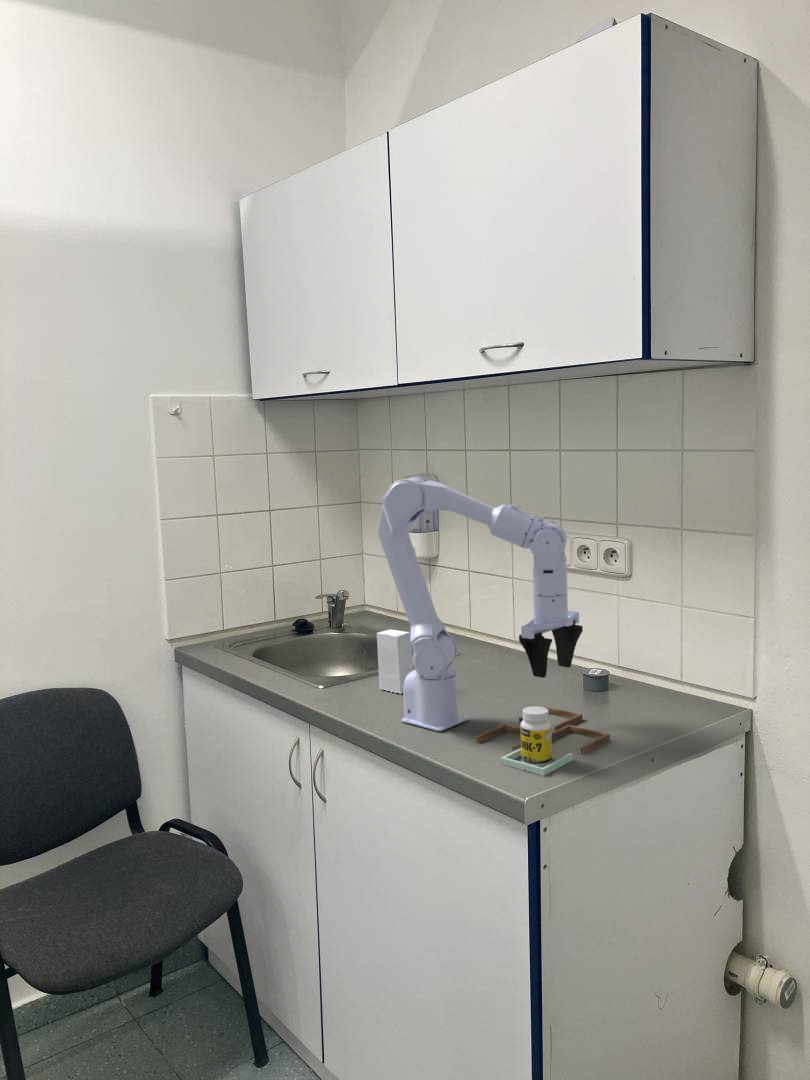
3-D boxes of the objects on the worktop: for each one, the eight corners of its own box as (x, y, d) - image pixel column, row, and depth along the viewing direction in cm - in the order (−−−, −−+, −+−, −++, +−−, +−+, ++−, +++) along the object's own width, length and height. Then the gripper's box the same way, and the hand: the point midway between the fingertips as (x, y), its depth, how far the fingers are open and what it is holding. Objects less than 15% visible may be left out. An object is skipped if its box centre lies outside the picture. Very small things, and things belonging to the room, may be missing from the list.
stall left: (518, 723, 156) (518, 717, 156) (544, 711, 162) (544, 706, 162) (557, 732, 151) (556, 726, 150) (582, 719, 156) (582, 714, 156)
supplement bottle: (516, 764, 137) (514, 712, 136) (529, 754, 141) (527, 703, 140) (544, 769, 135) (543, 716, 134) (557, 759, 138) (555, 707, 137)
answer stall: (500, 763, 138) (500, 757, 138) (530, 748, 143) (530, 743, 143) (543, 775, 132) (543, 769, 132) (573, 759, 138) (572, 753, 138)
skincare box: (414, 689, 179) (412, 632, 177) (400, 695, 176) (397, 636, 174) (392, 685, 183) (390, 628, 182) (378, 690, 180) (375, 632, 178)
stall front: (541, 743, 146) (541, 737, 145) (568, 730, 151) (568, 724, 151) (583, 754, 140) (583, 748, 140) (609, 739, 146) (609, 734, 146)
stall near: (476, 742, 147) (475, 736, 147) (505, 729, 153) (504, 723, 153) (514, 753, 142) (514, 747, 142) (543, 738, 148) (543, 733, 148)
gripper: (545, 603, 142) (547, 685, 144) (593, 588, 153) (595, 665, 155) (510, 599, 147) (512, 678, 149) (559, 585, 158) (560, 659, 159)
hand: (552, 671), depth 152 cm, fingers open, 7 cm apart
